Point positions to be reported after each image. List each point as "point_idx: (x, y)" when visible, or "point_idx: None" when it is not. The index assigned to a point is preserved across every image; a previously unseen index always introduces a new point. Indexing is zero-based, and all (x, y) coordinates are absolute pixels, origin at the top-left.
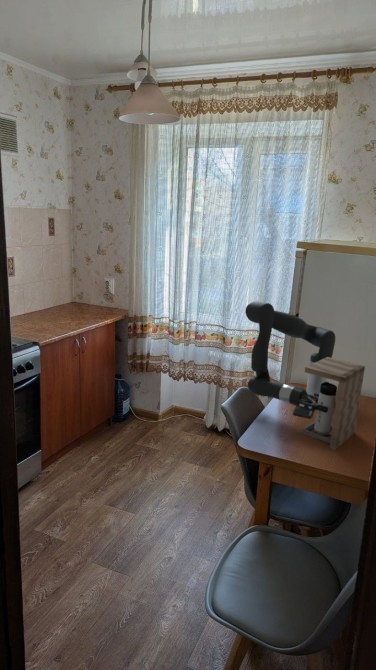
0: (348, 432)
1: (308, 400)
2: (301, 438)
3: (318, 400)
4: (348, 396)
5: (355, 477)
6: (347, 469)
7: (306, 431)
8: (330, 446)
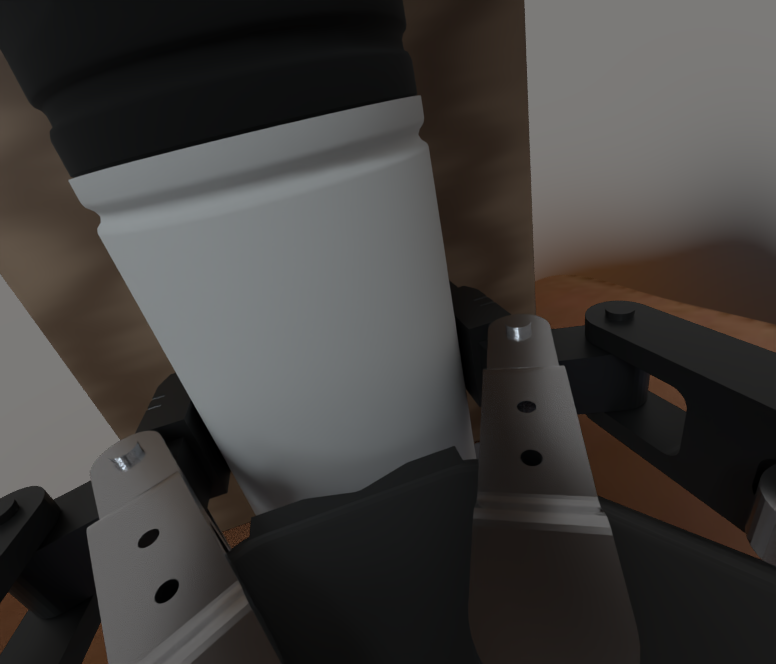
0: None
1: (612, 523)
2: None
3: (417, 334)
4: None
5: (575, 277)
6: (572, 301)
7: None
8: None
